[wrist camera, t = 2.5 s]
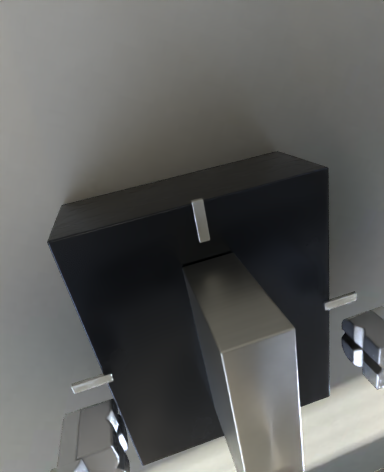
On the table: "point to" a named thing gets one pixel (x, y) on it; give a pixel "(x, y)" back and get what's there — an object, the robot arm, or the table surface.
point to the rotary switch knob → (248, 365)
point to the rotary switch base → (175, 291)
